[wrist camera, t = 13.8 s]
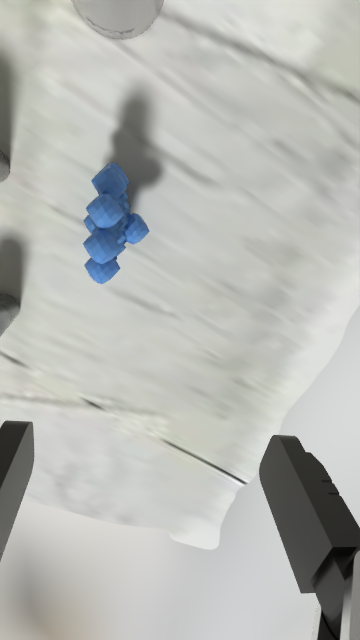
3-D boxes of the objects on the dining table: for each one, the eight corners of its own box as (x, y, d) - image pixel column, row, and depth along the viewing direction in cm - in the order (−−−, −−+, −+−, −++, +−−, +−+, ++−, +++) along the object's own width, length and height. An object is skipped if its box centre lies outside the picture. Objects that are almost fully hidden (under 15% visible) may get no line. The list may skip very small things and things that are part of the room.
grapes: (142, 267, 41) (142, 305, 30) (89, 259, 40) (69, 297, 29) (155, 169, 36) (160, 174, 25) (94, 158, 35) (73, 158, 24)
